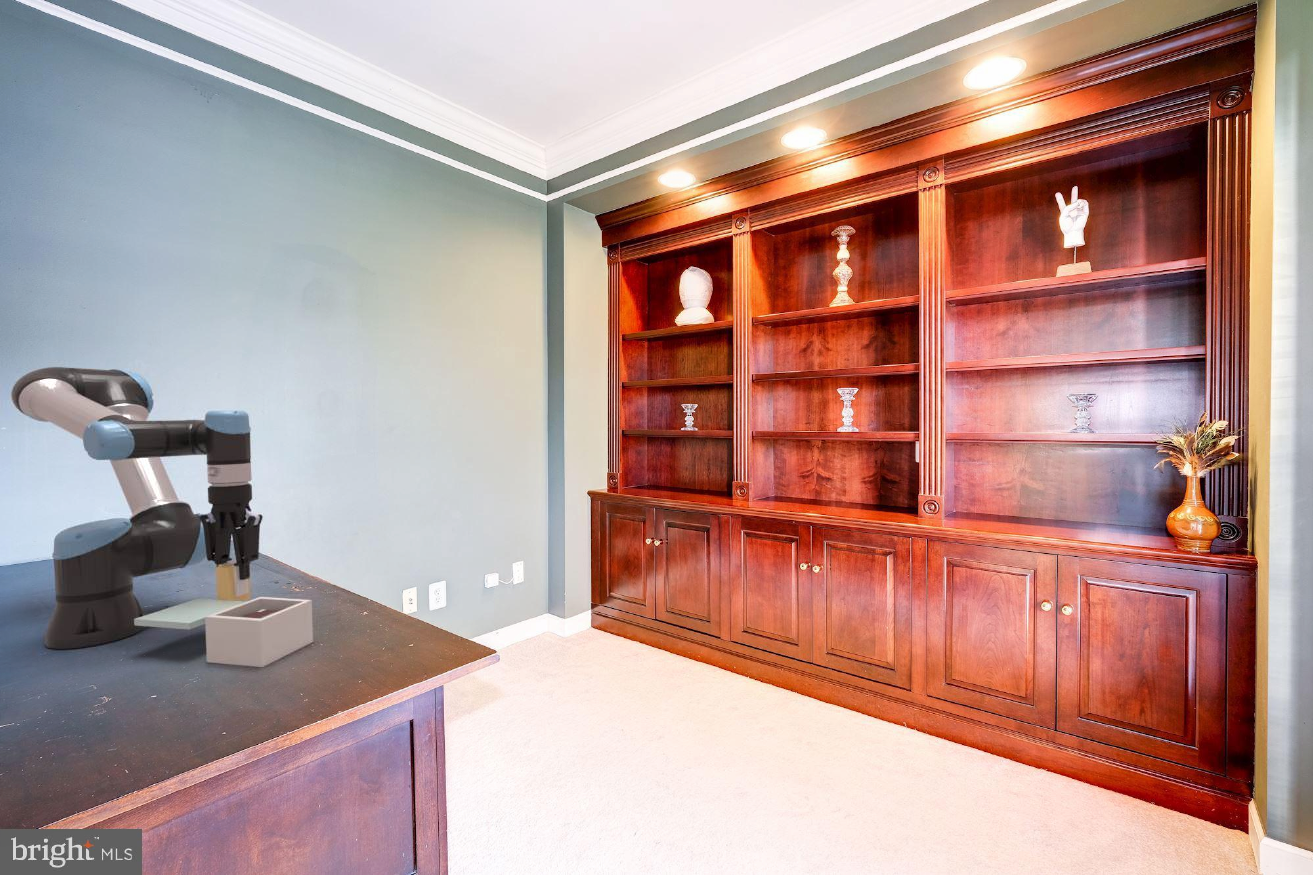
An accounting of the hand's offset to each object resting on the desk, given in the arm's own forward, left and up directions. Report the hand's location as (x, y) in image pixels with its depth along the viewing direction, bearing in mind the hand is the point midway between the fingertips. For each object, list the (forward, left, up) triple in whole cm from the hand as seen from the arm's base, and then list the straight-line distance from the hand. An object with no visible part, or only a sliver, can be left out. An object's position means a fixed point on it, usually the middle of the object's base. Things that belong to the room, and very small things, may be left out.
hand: (234, 593), depth 125 cm
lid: (0, -6, -2) cm, 7 cm away
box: (+15, -9, -8) cm, 19 cm away
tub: (+15, -9, -8) cm, 19 cm away
